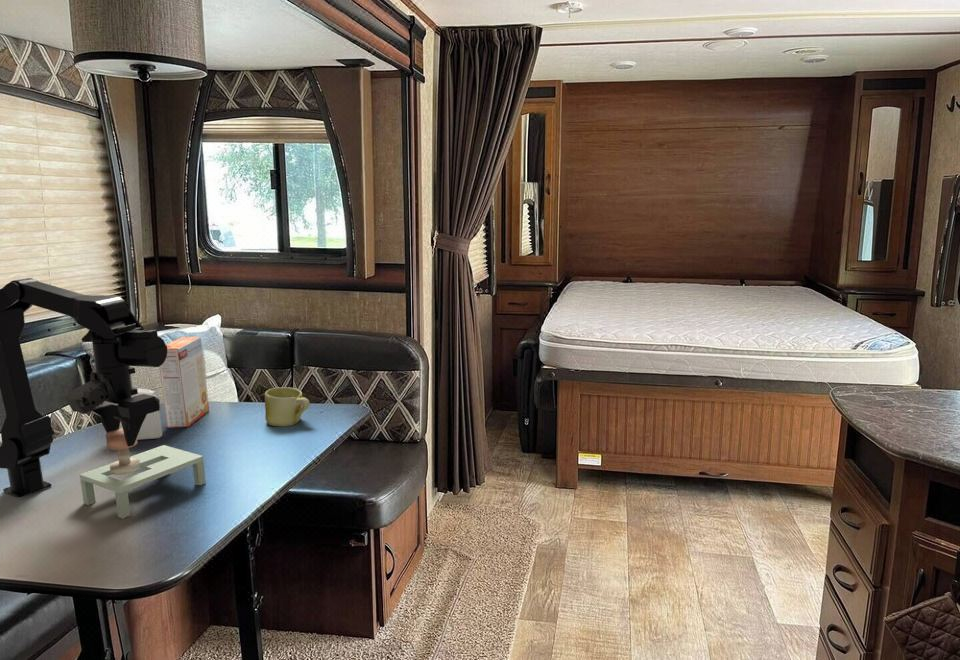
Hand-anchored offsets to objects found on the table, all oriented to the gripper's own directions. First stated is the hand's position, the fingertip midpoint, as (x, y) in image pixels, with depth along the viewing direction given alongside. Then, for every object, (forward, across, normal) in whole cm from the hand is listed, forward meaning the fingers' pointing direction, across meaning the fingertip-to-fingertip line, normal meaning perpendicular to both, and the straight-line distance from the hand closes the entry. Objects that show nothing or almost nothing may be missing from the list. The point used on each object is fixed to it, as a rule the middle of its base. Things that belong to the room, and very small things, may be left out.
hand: (122, 443), depth 137 cm
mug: (+12, -7, +49) cm, 51 cm away
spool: (+5, 0, 0) cm, 5 cm away
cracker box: (+12, -33, +38) cm, 52 cm away
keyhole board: (+12, 0, +4) cm, 12 cm away
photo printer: (+12, -31, +23) cm, 41 cm away
